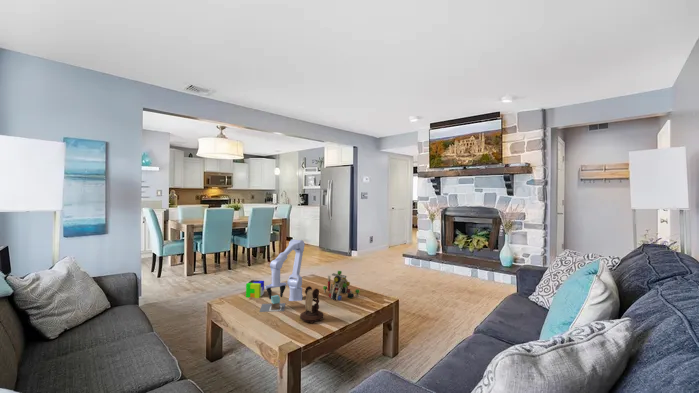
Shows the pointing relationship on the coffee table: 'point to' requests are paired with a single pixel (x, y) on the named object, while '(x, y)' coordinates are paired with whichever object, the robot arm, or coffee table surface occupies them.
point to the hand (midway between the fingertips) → (275, 297)
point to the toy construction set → (339, 287)
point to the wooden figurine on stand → (311, 306)
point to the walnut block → (275, 306)
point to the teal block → (275, 299)
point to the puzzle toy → (255, 288)
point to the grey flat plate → (268, 308)
